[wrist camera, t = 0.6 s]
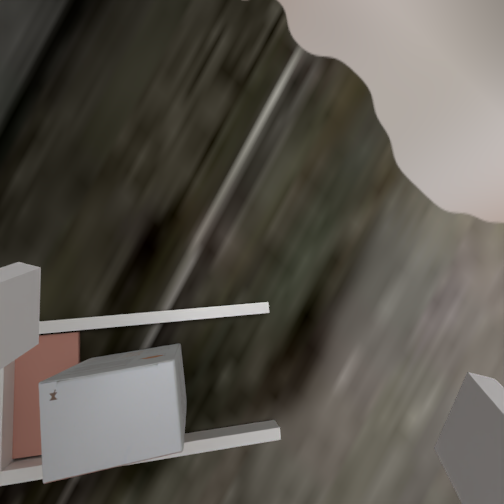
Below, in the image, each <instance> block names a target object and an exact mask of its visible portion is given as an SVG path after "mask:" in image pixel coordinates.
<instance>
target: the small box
mask: <svg viewBox="0 0 504 504" xmlns="http://www.w3.org/2000/svg"><path fill="white" fill-rule="evenodd" d="M186 405H187V402H186V389H185V379H184V370H183V361H182V353H181V344H180V343H177V344H172V345H166V346H160V347H154V348H148V349H142V350H136V351H130V352H124V353H118V354H112V355H106V356H100V357H93V358H90V359H88V360H85V361H83V362H81V363H79V364H77V365H75V366H72V367H70V368H68V369H66V370H64V371H62V372H60V373H58V374H56V375H54V376H52V377H50V378H48V379H45V380H43V381H41V382H39V406H40V430H41V453H42V472H43V483H44V484H46V483H50V482H54V481H58V480H63V479H67V478H72V477H76V476H80V475H84V474H89V473H93V472H97V471H101V470H105V469H110V468H114V467H118V466H123V465H127V464H131V463H136V462H140V461H144V460H149V459H153V458H158V457H162V456H166V455H171V454H175V453H180V452H182V451H183V449H184V434H185V423H186Z"/></svg>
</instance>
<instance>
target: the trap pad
mask: <svg viewBox="0 0 504 504" xmlns="http://www.w3.org/2000/svg"><path fill="white" fill-rule="evenodd" d="M79 363H80V332H71V333H61V334H50V335H39V344H38V345H36V346H35V347H33V348H32V349H30V350H29V351H27V352H26V353H24V354H23V355H21V356H20V357H18V358H17V359H15V373H14V410H13V447H12V459H17V458H24V457H31V456H37V455H42V453H41V430H40V406H39V382H41V381H43V380H45V379H48V378H50V377H52V376H54V375H56V374H58V373H60V372H62V371H64V370H66V369H68V368H70V367H72V366H75V365H77V364H79Z"/></svg>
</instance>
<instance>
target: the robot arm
mask: <svg viewBox="0 0 504 504" xmlns="http://www.w3.org/2000/svg"><path fill="white" fill-rule="evenodd" d="M40 280H41V267H37V266H33V265H29V264H25V263H21V262H17V263H14V264H11V265H8V266H5V267H1V268H0V370H1V369H2V368H3V367H5V366H6V365H8V364H9V363H11V362H12V361H14V360H15V359H17V358H18V357H20V356H21V355H23V354H24V353H26V352H27V351H29V350H30V349H32V348H33V347H35V346H36V345H38V344H39V315H40ZM434 449H435V451H436V453H437V455H438V457H439V459H440V461H441V463H442V465H443V467H444V469H445V471H446V473H447V475H448V477H449V479H450V481H451V483H452V485H453V487H454V489H455V491H456V493H457V495H458V497H459V499H460V501H461V503H462V504H504V387H503V386H502V385H501V384H500V383H499V382H498V381H497V380H496V379H494V378H490V377H486V376H482V375H478V374H474V373H470V372H467V374H466V376H465V379H464V381H463V383H462V386H461V388H460V390H459V392H458V395H457V397H456V399H455V402H454V404H453V406H452V408H451V411H450V413H449V415H448V418H447V420H446V422H445V424H444V427H443V429H442V431H441V434H440V436H439V438H438V441H437V443H436V445H435V447H434Z"/></svg>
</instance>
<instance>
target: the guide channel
mask: <svg viewBox="0 0 504 504" xmlns="http://www.w3.org/2000/svg"><path fill="white" fill-rule="evenodd" d="M262 313H269V304H268V302H262V303H250V304H238V305H227V306H215V307H203V308H192V309H180V310H168V311H157V312H145V313H133V314H122V315H110V316H99V317H87V318H75V319H64V320H52V321H40V322H39V334H45V333H55V332H66V331H77V330H88V329H99V328H110V327H121V326H131V325H142V324H153V323H164V322H175V321H186V320H197V319H207V318H218V317H229V316H240V315H251V314H262ZM14 373H15V360H14V361H12V362H11V363H9V364H8V365H6V366H5V367H3V368H2V369H1V370H0V486H4V485H10V484H16V483H22V482H28V481H34V480H40V479H43V472H42V456H36V457H29V458H23V459H16V460H15V459H12V447H13V410H14ZM275 440H281V436H280V427H279V426H278V424H277V423H276V421H275V420H270V421H263V422H257V423H250V424H244V425H237V426H231V427H224V428H218V429H211V430H205V431H198V432H192V433H185V434H184V449H183V451H182V452H180V453H175V454H171V455H166V456H162V457H158V458H153V459H149V460H144V461H140V462H136V463H142V462H148V461H154V460H161V459H167V458H173V457H179V456H185V455H191V454H197V453H203V452H209V451H215V450H221V449H227V448H233V447H239V446H245V445H251V444H257V443H263V442H269V441H275ZM136 463H131V464H136ZM127 465H130V464H127ZM123 466H124V465H123Z"/></svg>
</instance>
